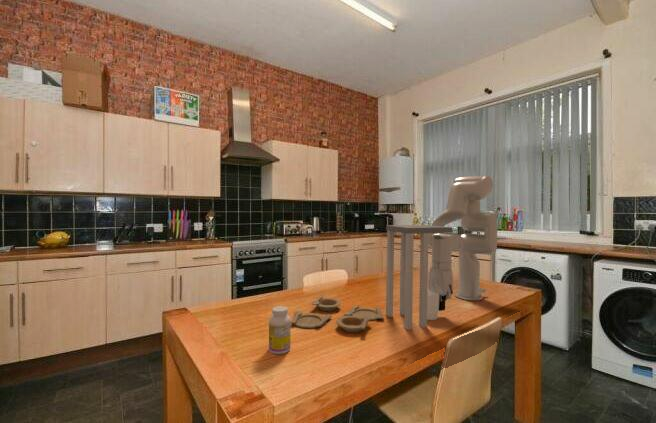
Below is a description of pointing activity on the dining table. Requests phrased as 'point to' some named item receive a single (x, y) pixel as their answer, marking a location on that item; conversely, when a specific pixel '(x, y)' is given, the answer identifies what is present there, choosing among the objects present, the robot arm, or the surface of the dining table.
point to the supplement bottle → (279, 331)
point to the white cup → (432, 305)
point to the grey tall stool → (409, 270)
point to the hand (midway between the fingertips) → (440, 309)
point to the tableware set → (346, 322)
